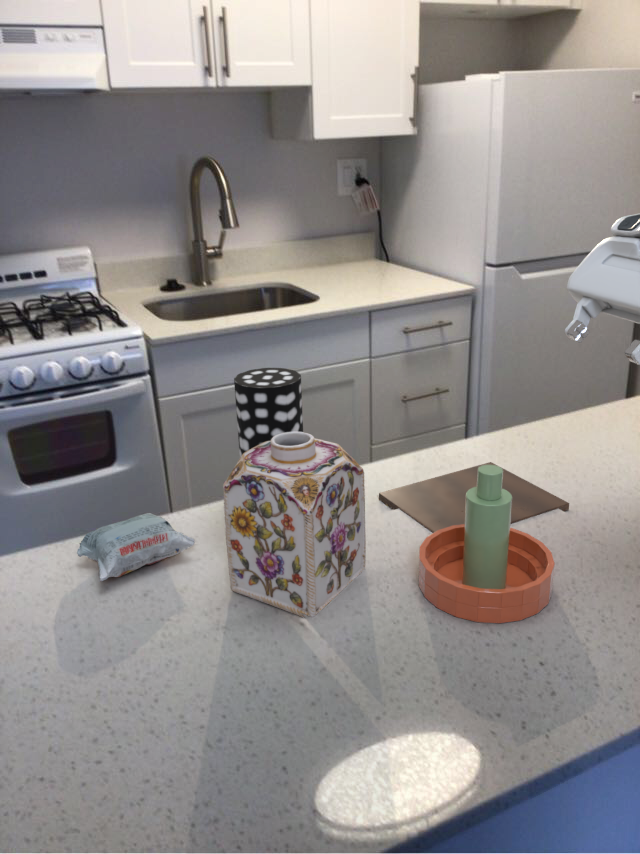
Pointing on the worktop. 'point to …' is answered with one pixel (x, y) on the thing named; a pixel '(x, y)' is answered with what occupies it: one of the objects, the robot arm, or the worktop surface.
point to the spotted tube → (267, 405)
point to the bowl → (514, 603)
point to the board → (446, 498)
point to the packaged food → (132, 544)
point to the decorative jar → (295, 522)
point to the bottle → (487, 531)
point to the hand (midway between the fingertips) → (600, 348)
